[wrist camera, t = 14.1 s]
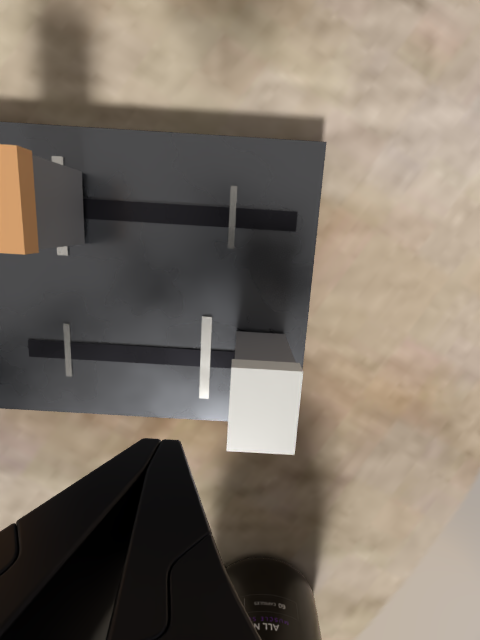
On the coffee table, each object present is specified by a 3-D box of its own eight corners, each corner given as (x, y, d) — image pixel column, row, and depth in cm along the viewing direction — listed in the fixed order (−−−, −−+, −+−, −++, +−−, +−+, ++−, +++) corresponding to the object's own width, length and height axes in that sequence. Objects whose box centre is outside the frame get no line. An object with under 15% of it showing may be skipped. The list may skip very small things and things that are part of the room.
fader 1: (31, 243, 18) (-53, 249, 13) (25, 165, 17) (-67, 140, 12) (86, 246, 18) (24, 254, 13) (84, 169, 17) (16, 145, 12)
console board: (-26, 396, 21) (-43, 406, 20) (-59, 123, 18) (-82, 116, 17) (293, 414, 21) (296, 426, 20) (320, 147, 18) (326, 141, 17)
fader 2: (230, 392, 19) (226, 450, 14) (234, 329, 19) (231, 367, 14) (281, 395, 20) (294, 455, 14) (287, 332, 19) (303, 371, 14)
